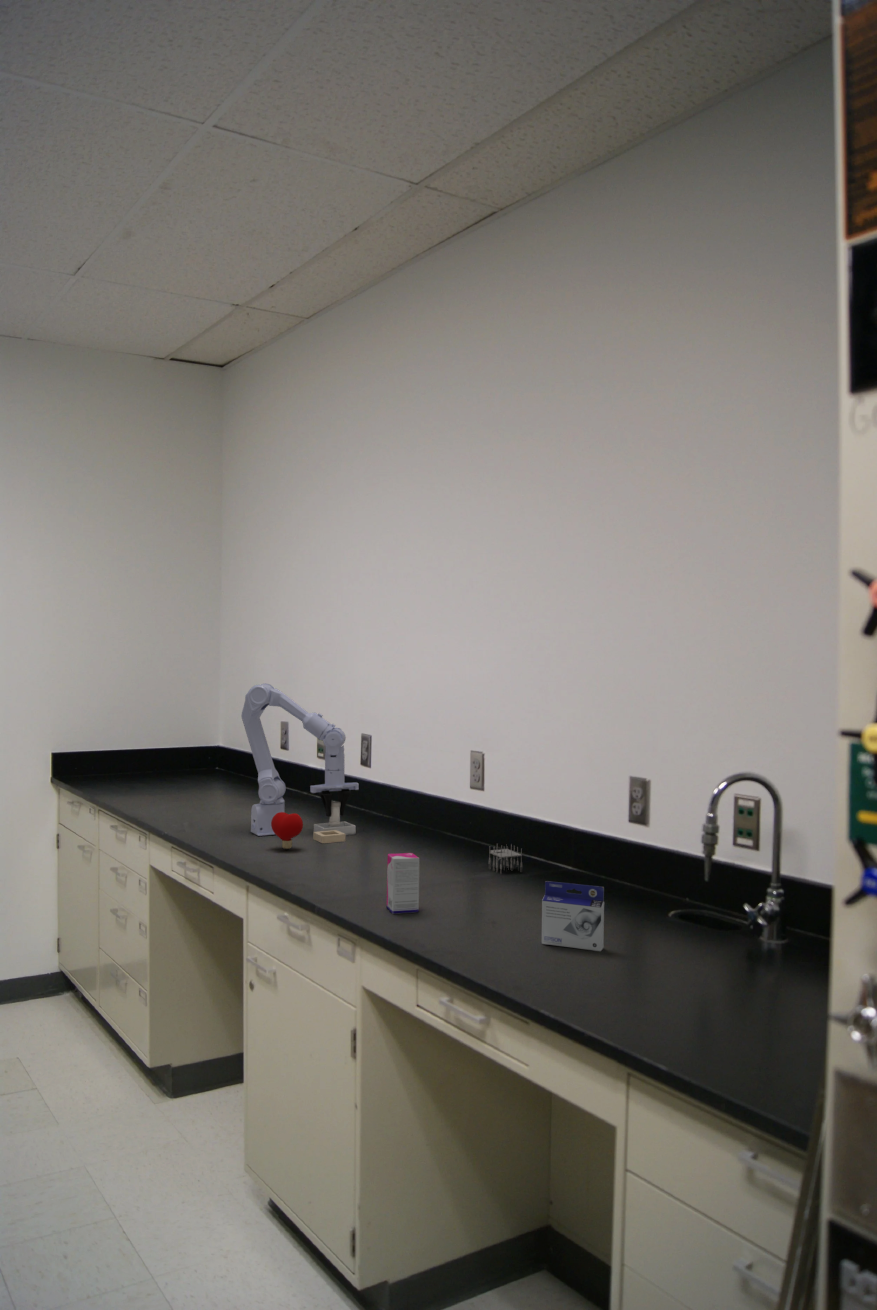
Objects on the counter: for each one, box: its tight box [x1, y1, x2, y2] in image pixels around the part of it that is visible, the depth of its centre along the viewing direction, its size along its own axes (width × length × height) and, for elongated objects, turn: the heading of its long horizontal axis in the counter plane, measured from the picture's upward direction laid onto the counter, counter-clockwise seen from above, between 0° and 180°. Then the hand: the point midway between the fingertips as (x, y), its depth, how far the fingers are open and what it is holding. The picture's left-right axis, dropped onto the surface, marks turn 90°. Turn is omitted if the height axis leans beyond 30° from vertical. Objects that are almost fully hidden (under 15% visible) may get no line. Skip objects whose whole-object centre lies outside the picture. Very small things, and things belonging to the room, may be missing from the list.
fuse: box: [328, 800, 341, 827], centre depth 286 cm, size 3×3×7 cm
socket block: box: [312, 830, 346, 844], centre depth 277 cm, size 7×7×2 cm
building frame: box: [487, 843, 523, 875], centre depth 241 cm, size 6×8×6 cm
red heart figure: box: [271, 811, 304, 851], centre depth 263 cm, size 9×7×10 cm
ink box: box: [541, 880, 605, 952], centre depth 179 cm, size 12×2×12 cm, turn 69°
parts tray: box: [313, 821, 357, 836], centre depth 286 cm, size 10×8×2 cm
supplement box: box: [386, 852, 420, 915], centre depth 204 cm, size 6×6×12 cm
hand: (334, 815), depth 286 cm, fingers closed on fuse, 3 cm apart
